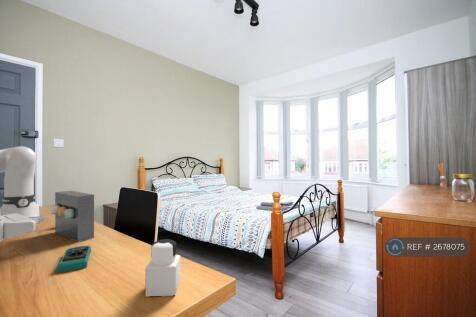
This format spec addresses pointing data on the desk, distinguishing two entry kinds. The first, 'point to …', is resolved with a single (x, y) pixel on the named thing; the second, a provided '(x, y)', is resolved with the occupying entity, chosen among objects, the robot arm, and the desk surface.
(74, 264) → the digital multimeter
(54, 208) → the cream button
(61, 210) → the orange button
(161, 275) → the medicine bottle
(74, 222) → the control box
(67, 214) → the sage button
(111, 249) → the desk surface
